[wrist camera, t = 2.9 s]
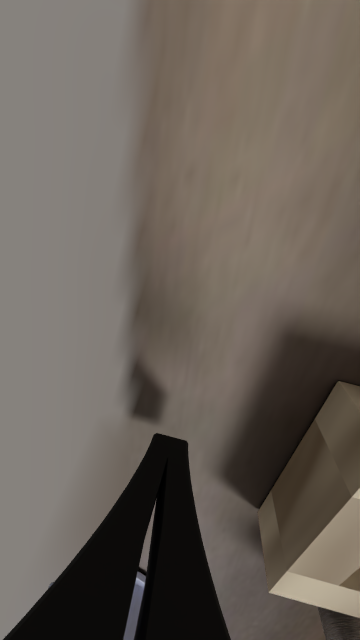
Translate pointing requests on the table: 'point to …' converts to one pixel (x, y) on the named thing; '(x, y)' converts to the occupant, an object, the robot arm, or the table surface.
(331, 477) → the holed block
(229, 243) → the table surface
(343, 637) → the steel peg
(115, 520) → the robot arm
